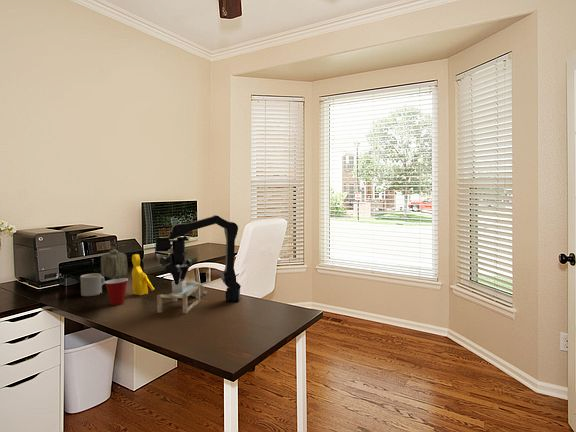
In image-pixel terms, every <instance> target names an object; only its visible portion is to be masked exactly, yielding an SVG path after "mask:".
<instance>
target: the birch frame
mask: <svg viewBox="0 0 576 432" xmlns="http://www.w3.org/2000/svg"><path fill="white" fill-rule="evenodd" d="M187 287H195V288H194V289H192V290H191V291H189V292H188V293H187V294H185V295H169V294H162V293H161V294H160V293H158V294H157V295H156V302H157V303H156V305H157V308H156V310H157V313H158V314H159V313H160V314H162V312H163V298H169V299H171V298H172V303H175V302H178V299H182V314H188V312H190V311H191V310H192V309H193V308H194V307H195V306H196V305H197V304H198V303H200V302H201V296H200V286H187ZM194 291H196V297H195V301H194V302H193V303H191V304H190V305H188V297H190V296H191V295H190V294H192V293H193V292H194Z"/></svg>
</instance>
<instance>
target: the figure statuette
mask: <svg viewBox="0 0 576 432" xmlns="http://www.w3.org/2000/svg"><path fill="white" fill-rule="evenodd" d="M131 262H132V265H133V267H132V270H131V277H132V284H131V288H132V294H133V295H137V296H143V295H148V294H149V289H150V291H151V292H152V291H154V290H155V287H153V284H152V283H151V281H150V280H149V278H148V276H147V274H146V273H145V272H143V269H142V267H141V257H140V254H138V253H135V254H132V256H131ZM148 287H149V288H148Z"/></svg>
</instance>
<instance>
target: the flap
mask: <svg viewBox="0 0 576 432" xmlns="http://www.w3.org/2000/svg"><path fill="white" fill-rule="evenodd" d="M194 288H195V287H187V289H186V290H185V291H183V292H172V291H171V293H169V294H168V295H185V294H187V293H188V292H189V291H191V290H192V289H194Z"/></svg>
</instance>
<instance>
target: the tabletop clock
mask: <svg viewBox="0 0 576 432" xmlns="http://www.w3.org/2000/svg"><path fill="white" fill-rule="evenodd" d="M111 244H114V245H115V246H112V245H111ZM109 247H110V248H111V249H110V250H109V251H108V253H105V254H103V255H102V256H100V274H101V276H103V277H106V278H109V279H110V280H113V279H117V278H118V279H121V278H122V277H125V276H127V275H128V258H127V255H126V254H125V253H123V252H119V251H118V250H117V247H118V245H117V243H116V242H115V241H112V242H110V243H109Z"/></svg>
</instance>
